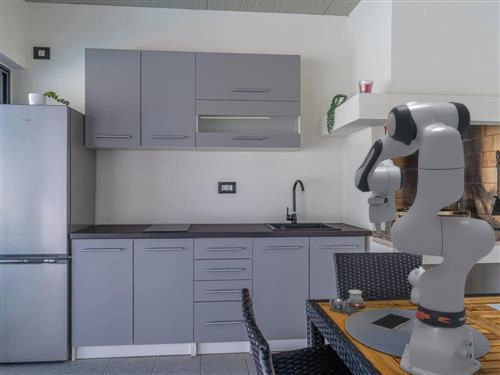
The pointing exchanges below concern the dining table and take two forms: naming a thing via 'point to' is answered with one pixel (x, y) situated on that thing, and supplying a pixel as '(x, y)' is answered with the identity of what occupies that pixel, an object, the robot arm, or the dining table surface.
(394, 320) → the smartphone
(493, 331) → the dining table surface
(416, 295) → the cat figurine
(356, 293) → the cap
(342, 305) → the bayonet base
